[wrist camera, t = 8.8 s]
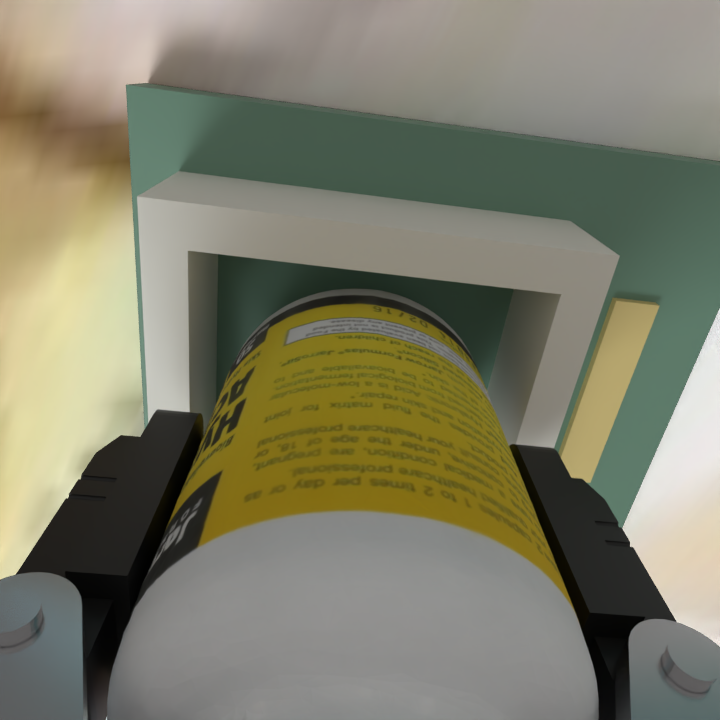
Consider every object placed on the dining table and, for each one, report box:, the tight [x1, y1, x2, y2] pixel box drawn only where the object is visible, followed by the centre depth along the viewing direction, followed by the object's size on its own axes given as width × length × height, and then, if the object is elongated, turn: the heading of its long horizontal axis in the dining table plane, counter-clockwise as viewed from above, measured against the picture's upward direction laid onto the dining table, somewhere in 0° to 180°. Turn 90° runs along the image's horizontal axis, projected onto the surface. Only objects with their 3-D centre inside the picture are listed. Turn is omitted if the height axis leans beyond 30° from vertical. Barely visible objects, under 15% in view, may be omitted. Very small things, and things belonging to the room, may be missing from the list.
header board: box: [126, 83, 720, 528], centre depth 14 cm, size 13×13×4 cm
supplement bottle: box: [107, 289, 599, 720], centre depth 8 cm, size 5×5×10 cm
